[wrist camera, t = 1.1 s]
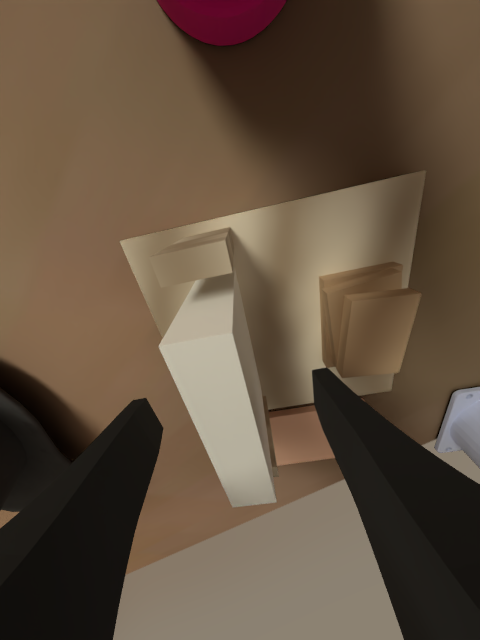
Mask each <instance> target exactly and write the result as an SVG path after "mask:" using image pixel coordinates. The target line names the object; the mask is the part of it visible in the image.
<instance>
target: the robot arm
mask: <svg viewBox="0 0 480 640" xmlns="http://www.w3.org/2000/svg"><path fill="white" fill-rule="evenodd" d="M312 381H313V395H314V406H315V409H316V412H317V415H318V418H319V421H320V424H321V426H322V429H323V432H324V434H325V436H326V438H327V440H328V443H329V445H330V447H331V449H332V452H333V454H334V456H335V458H336V460H337V463H338V465H339V467H340V469H341V471H342V474H343V476H344V478H345V480H346V482H347V485H348V487H349V489H350V491H351V493H352V496H353V498H354V501H355V503H356V506H357V508H358V511H359V514H360V516H361V519H362V522H363V525H364V527H365V530H366V533H367V535H368V538H369V541H370V543H371V546H372V549H373V552H374V555H375V558H376V560H377V563H378V565H379V569H380V572H381V574H382V577H383V580H384V583H385V586H386V588H387V591H388V594H389V597H390V600H391V603H392V606H393V609H394V611H395V615H396V617H397V620H398V623H399V626H400V629H401V632H402V635H403V638H404V640H480V484H478V483H476V482H475V481H473V480H472V479H470V478H468V477H467V476H465V475H464V474H462V473H461V472H459V471H458V470H456V469H455V468H453V467H452V466H450V465H449V464H447V463H446V462H444V461H443V460H441V459H440V458H438V457H437V456H435V455H434V454H433V453H431V452H430V451H428V450H427V449H425V448H424V447H422V446H421V445H420V444H418V443H417V442H415V441H414V440H413V439H411V438H410V437H409V436H407V435H406V434H405V433H403V432H402V431H401V430H399V429H398V428H397V427H395V426H394V425H393V424H392V423H390V422H389V421H388V420H386V419H385V418H384V417H383V416H381V415H380V414H379V413H378V412H377V411H375V410H374V409H373V408H372V407H371V406H369V405H368V404H367V403H366V402H365V401H363V400H362V399H361V398H360V397H359V396H358V395H357V394H355V393H354V392H353V391H352V390H351V389H350V388H349V387H348V386H347V385H345V384H344V383H343V382H342V381H341V380H340V379H339V378H338V377H337V376H336V375H335V374H334V373H333V372H332V371H331V370H330V369H328V368H327V367H326V368H320V369H315V370H312ZM162 433H163V427H162V425H161V423H160V422H159V420H158V418H157V416H156V415H155V413H154V411H153V409H152V408H151V406H150V404H149V402H148V401H147V399H146V398H143V399H137V400H133V401H132V402H131V403H130V404H129V405H128V406H127V407H126V408H125V409H124V410H123V411H122V412H121V413H120V414H119V415H118V416H117V417H116V418H115V419H114V420H113V421H112V422H111V423H110V424H109V425H108V427H107V428H106V429H105V430H104V431H103V432H102V433H101V434H100V435H99V436H98V437H97V438H96V439H95V440H94V441H93V442H92V443H91V444H90V445H89V446H88V448H87V449H86V450H85V451H84V452H83V453H82V454H81V455H80V456H79V457H78V458H77V459H76V460H75V461H74V462H73V463H72V464H71V465H70V466H69V467H68V468H67V469H66V470H65V471H64V472H63V473H62V474H61V475H60V476H59V477H57V478H56V479H55V480H54V481H53V482H52V483H51V484H50V485H49V486H48V487H47V488H46V489H45V490H44V491H43V492H42V493H40V494H39V495H38V496H37V497H36V498H35V499H34V500H33V501H32V502H30V503H29V504H28V505H27V506H26V507H25V508H24V509H23V510H22V511H20V512H19V513H18V514H17V515H16V516H15V517H14V518H12V519H11V520H10V521H9V522H8V523H6V524H5V525H4V526H3V527H2V528H0V640H113V635H114V629H115V624H116V619H117V613H118V607H119V603H120V598H121V592H122V588H123V582H124V577H125V573H126V568H127V564H128V559H129V555H130V551H131V546H132V542H133V538H134V533H135V529H136V526H137V522H138V519H139V515H140V512H141V509H142V506H143V502H144V499H145V496H146V493H147V490H148V486H149V483H150V480H151V477H152V474H153V470H154V467H155V464H156V461H157V457H158V454H159V449H160V444H161V439H162ZM434 448H435V449H436V451H437V452H439V453H443V452H451V451H459V450H463V451H464V452H465V453H466V454H467V455H468V456H469V457H470V458H471V460H473V461H474V463H475V464H476V465H477V466H478V467H479V468H480V387H474V388H468V389H461V390H457V391H455V392H454V393H453V394H452V397H451V400H450V403H449V406H448V409H447V411H446V414H445V417H444V420H443V423H442V426H441V429H440V432H439V435H438V438H437V441H436V444H435V447H434Z"/></svg>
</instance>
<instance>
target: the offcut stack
mask: <svg viewBox="0 0 480 640" xmlns="http://www.w3.org/2000/svg"><path fill="white" fill-rule="evenodd" d="M402 270H403V265H402V264H399V263H396V262H388V263H383V264H378V265H373V266H368V267H363V268H358V269H353V270H348V271H344V272H339V273H334V274H329V275H324V276H319V289H320V314H321V340H322V361H323V363H324V364H325V366H326V367H327V368H330V367H336V369H337V371H338V373H339V374H340V376H341V378H350V377H360V376H370V375H381V374H391V373H399V371H400V368H401V364H402V361H403V357H404V354H405V350H406V347H407V343H408V340H409V336H410V333H411V329H412V326H413V322H414V319H415V315H416V312H417V308H418V305H419V301H420V298H421V294H422V293H420V292H418V291H415V290H413V289H411V288H404V289H402Z"/></svg>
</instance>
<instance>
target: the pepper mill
mask: <svg viewBox="0 0 480 640" xmlns="http://www.w3.org/2000/svg"><path fill="white" fill-rule="evenodd" d="M157 1H158V3H159V4H160V6H161V8H162V9H163V10H164V11H165V12H166V14H167V15H168V16H169V17H170V18H171V20H172V21H173V22H174V23H175V24H176V25H177V26H178V27H180V28H181V29H182V30H183V31H185V32H186V33H187V34H189V35H190V36H192V37H194V38H196V39H198V40H200V41H202V42H204V43H208V44H212V45H216V46H225V45H235V44H238V43H242V42H244V41H246V40H248V39H250V38H252V37H254V36H255V35H257V34H258V33H259V32H261V31H262V30H264V29H265V28H266V27H267V26H268V25H269V24H270V23H271V22H272V20H273V19H274V18H275V17H276V16H277V14H278V13H279V12H280V11H281V9H282V7H283V6H284V4H285V3H286V1H287V0H157Z"/></svg>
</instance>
